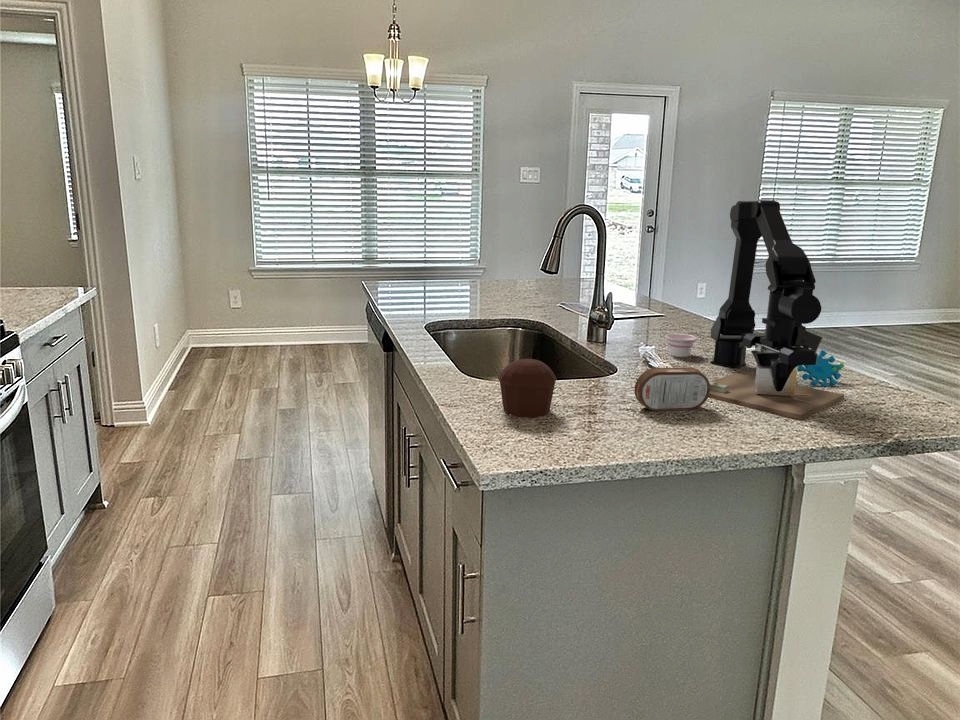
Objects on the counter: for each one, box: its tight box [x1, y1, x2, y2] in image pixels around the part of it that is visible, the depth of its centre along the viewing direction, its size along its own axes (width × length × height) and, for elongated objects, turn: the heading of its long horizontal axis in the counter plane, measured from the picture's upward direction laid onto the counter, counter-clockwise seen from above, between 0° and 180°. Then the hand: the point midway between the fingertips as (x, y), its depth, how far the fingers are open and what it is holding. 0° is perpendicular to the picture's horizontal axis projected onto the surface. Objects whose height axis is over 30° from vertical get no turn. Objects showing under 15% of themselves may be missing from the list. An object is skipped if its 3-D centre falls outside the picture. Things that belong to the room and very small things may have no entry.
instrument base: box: [708, 372, 845, 421], centre depth 149 cm, size 24×22×3 cm
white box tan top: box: [754, 364, 798, 397], centre depth 146 cm, size 7×3×6 cm, turn 79°
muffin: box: [497, 358, 558, 419], centre depth 135 cm, size 12×11×10 cm
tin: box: [633, 367, 710, 412], centre depth 138 cm, size 15×3×8 cm, turn 99°
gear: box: [796, 348, 845, 388], centre depth 160 cm, size 11×6×10 cm
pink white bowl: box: [665, 333, 698, 358], centre depth 181 cm, size 12×12×6 cm
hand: (773, 388), depth 147 cm, fingers closed on white box tan top, 4 cm apart
